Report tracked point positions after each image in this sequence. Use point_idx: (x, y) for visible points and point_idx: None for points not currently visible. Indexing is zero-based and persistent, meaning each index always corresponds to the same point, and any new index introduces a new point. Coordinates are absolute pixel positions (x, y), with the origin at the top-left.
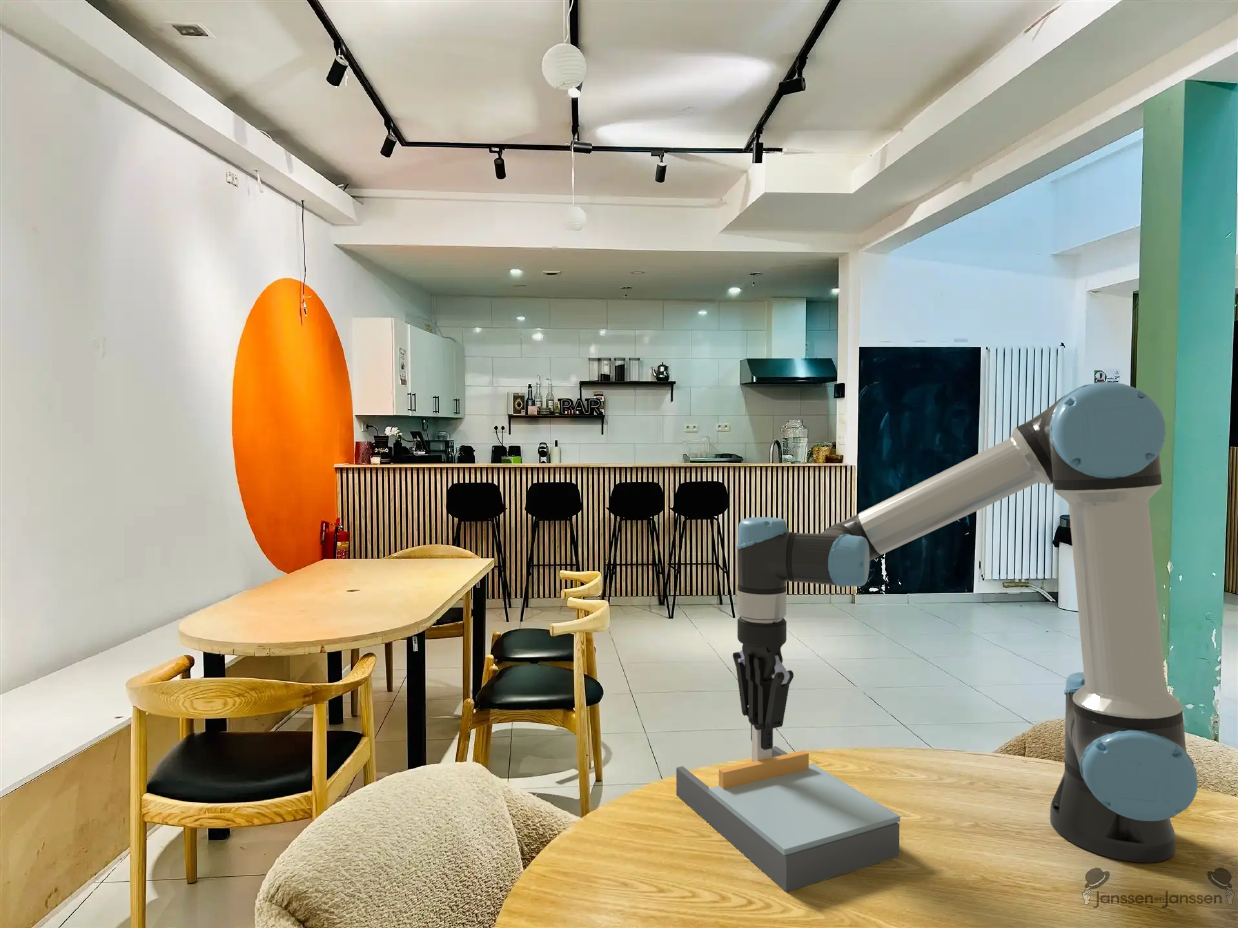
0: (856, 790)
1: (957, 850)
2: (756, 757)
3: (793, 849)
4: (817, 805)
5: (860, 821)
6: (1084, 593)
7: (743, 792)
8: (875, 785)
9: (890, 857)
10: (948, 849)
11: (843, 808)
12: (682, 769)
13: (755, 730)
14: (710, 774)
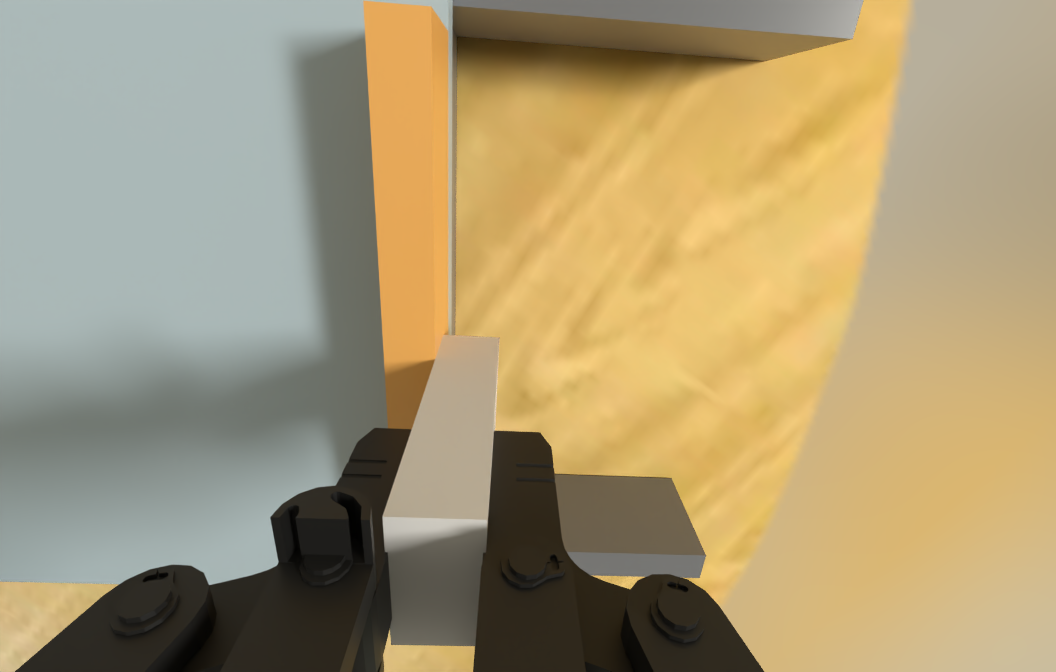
0: None
1: (47, 599)
2: (444, 367)
3: None
4: (62, 377)
5: None
6: None
7: (305, 123)
8: (434, 655)
9: None
10: (56, 587)
11: (13, 452)
12: (819, 5)
13: (425, 493)
14: (811, 288)
